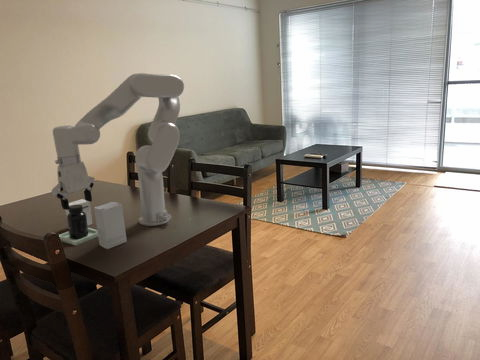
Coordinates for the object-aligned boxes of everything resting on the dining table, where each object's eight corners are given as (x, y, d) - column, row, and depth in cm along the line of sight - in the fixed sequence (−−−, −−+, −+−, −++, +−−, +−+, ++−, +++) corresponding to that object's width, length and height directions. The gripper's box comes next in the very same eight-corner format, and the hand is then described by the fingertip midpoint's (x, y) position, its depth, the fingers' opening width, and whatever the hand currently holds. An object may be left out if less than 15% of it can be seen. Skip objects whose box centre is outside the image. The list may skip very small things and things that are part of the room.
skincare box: (118, 238, 151) (114, 200, 147) (127, 242, 147) (123, 203, 143) (98, 245, 145) (93, 206, 141) (106, 250, 141) (101, 209, 137)
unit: (93, 223, 167) (90, 200, 165) (76, 230, 161) (72, 206, 158) (84, 221, 170) (81, 198, 168) (67, 227, 164) (64, 204, 161)
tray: (102, 235, 155) (101, 231, 155) (75, 245, 146) (75, 242, 145) (83, 229, 161) (82, 226, 161) (56, 239, 152) (56, 236, 151)
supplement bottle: (65, 239, 151) (61, 208, 148) (77, 232, 157) (72, 202, 154) (81, 240, 149) (77, 209, 146) (92, 233, 155) (88, 203, 152)
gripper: (53, 166, 137) (63, 214, 142) (96, 155, 151) (103, 199, 155) (41, 165, 141) (50, 211, 146) (83, 154, 155) (90, 196, 159)
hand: (77, 205), depth 151 cm, fingers open, 9 cm apart
